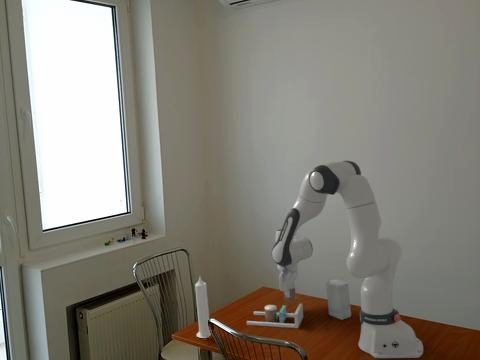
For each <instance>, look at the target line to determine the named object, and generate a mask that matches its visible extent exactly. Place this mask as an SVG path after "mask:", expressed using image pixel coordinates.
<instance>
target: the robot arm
mask: <svg viewBox="0 0 480 360" xmlns="http://www.w3.org/2000/svg"><path fill="white" fill-rule="evenodd" d="M370 184H371V183H370V182H369V180H368V179H367V177H365V176H364V175H363V174H362V170H361V168H360V166H359V165H358V164H357V163H356V162H354V161H351V160H342V161H333V162H332V161H331V162H328V163H324V164H320V165H318V166H314V167H313V168H312V169H310V170H309V171H307V172H306V173H305V174H304V177H303V180H302V183H301V185H300V188H299V191H298V192H299V193H298V195H297V198H296V200H295V202H294V205H292V207H291V209H290V210H289V211H288V212H287V215H286V217H285V219H284V222H283V224H282V227H281V228H280V229H277V230H276V232H275V243H274V245H273V247H272V249H271V258H272V260H273V261H274V263H275V264H276V265H277V269H278V270H279V271H280V273H279V278H278V279H279V280H278V281H279V291H280V292H284V291H285V293H286V297H290V296H291V295H290V287H291V286H292V284H294V285H295V281H296V280H297V278H298V272H299V271H298V268H299V267H298V264H299V262H301V261H304V260H307V259H309V258H311V256H312V255H313V251H314V250H313V249H314V248H313V244H312V242H311V241H310V239H309V238H307V237H306V236H302V235H300V234H298V233H297V232H298V230H299V229H300V228H301V227H302V226H303V225H304V224H305V223H307V222H309V221H310V220H311V221H312V219H314V218H316V217H318V216H320V214H321V213H322V212H323V210H324V207H325V205H326V201H327V197H328V195H331V196H333V195H335V194H336V193H337V194H339V195H340V196H341V199H342V200H343V204H344V209H345V211H346V217H347V220H348V221H347V222H348V224H349V230H350V249H349V252H348V255H347V258H346V267H347V270H348V271H349V273H350V275H352V276H353V277H355V278H357V279H363V281H362V283H361V286H360V291H359V292H360V307H359V308H360V310H359V320H360V324H361V326H360V336H359V339H358V340H359V341H358V343H357V344H358V347H359V349H360V350H362V351H363V352H365V353H367V354H369V355H371V356H372V357H373V358H375V359H418V358H420V357H422V356H423V354H424V345H423V342H422V341H421V339H420V338H417V336H416V333H415V331H414V329H413V328H412V326H410V325H409V324H408V323H406V322H405V321H403V320H402V319H401V316H400V312H399V310H398V308H394V307H393V289H394V288H393V287H394V281H395V276H396V271H397V266H398V263H399V261H400V260H401V257H402V254H403V253H402V249H401V246H400V244H399V243H398V241H396V240H395V239H393V238H389V237H386V238H385V237H383V238H379V235H380V234H379V233H380V228H381V226H382V219H381V215H380V212H379V211H380V210H379V207H378V205H377V201H376V197H375V194H374V192H373V189H372V186H371V185H370Z"/></svg>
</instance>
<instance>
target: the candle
mask: <svg viewBox="0 0 480 360" xmlns="http://www.w3.org/2000/svg"><path fill="white" fill-rule="evenodd" d="M194 289H195V298H196V299H195V300H196V309H197V319H198V321H197V322H198V332H196V338H197V337H199V338H207V337H209V336H210V335H211V333H210V330H211V329H210V330H209V327H208V320H209V321H210V312H209V311H210V310H209V299H208V298H209V297H208V288H207V283H206V282H204V281H203V280H202V277H201V276H199V277H198V281H197V282H196V283H195V284H194ZM199 338H198V339H199Z"/></svg>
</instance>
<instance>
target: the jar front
mask: <svg viewBox="0 0 480 360" xmlns="http://www.w3.org/2000/svg"><path fill="white" fill-rule="evenodd" d="M264 312H265V316H264V317H265V322H272V323H278V316H277V313H278V310H277V305H275V304H267V305H265V306H264Z"/></svg>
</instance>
